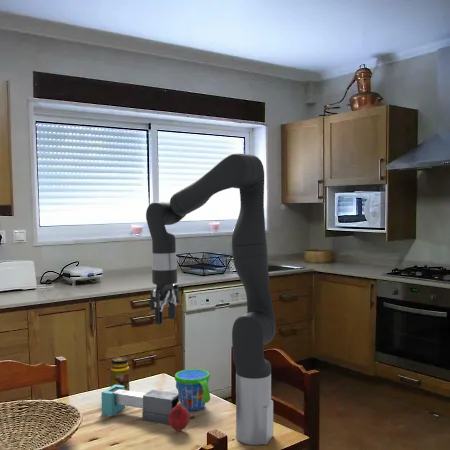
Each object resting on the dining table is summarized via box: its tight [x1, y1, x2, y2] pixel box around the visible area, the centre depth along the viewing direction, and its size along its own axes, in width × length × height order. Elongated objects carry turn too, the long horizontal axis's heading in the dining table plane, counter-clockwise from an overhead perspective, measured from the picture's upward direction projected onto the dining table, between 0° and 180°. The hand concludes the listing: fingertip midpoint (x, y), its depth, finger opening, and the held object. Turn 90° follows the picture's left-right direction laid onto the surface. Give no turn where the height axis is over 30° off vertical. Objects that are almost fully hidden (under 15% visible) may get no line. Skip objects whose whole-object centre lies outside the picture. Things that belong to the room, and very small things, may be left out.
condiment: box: [101, 356, 130, 399], centre depth 164 cm, size 7×8×12 cm
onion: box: [168, 401, 191, 433], centre depth 137 cm, size 6×6×8 cm
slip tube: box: [111, 389, 147, 409], centre depth 149 cm, size 14×3×3 cm, turn 68°
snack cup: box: [174, 368, 211, 412], centre depth 154 cm, size 16×10×10 cm
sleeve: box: [141, 389, 180, 426], centre depth 146 cm, size 9×6×7 cm, turn 68°
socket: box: [101, 385, 126, 417], centre depth 152 cm, size 4×7×7 cm, turn 158°
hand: (165, 321), depth 153 cm, fingers open, 8 cm apart
